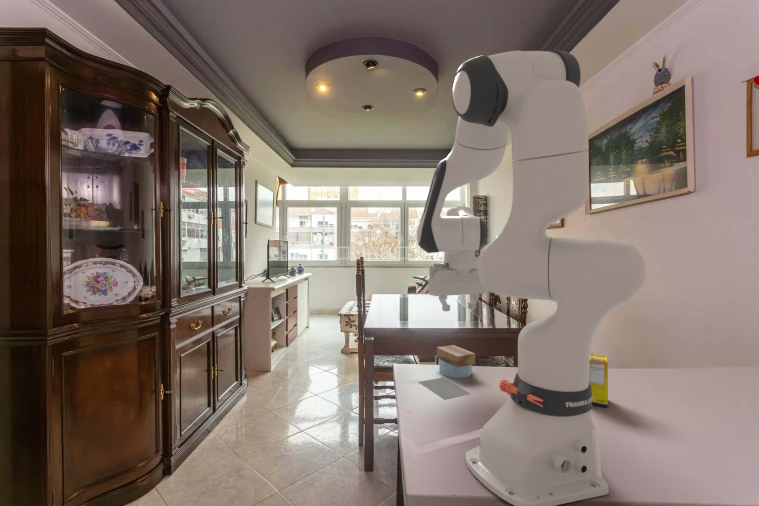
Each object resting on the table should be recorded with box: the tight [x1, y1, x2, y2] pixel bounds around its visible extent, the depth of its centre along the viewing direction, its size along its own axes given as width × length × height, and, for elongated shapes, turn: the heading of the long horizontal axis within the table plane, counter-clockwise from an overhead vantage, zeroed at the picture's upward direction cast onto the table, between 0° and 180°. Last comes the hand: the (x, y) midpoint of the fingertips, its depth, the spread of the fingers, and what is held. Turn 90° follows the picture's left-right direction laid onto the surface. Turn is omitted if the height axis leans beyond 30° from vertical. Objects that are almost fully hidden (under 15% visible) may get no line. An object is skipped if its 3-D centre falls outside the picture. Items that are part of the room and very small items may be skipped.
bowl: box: [438, 358, 473, 379], centre depth 100 cm, size 9×9×4 cm
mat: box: [418, 377, 471, 400], centre depth 88 cm, size 8×12×1 cm, turn 25°
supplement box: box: [589, 353, 609, 409], centre depth 83 cm, size 6×6×11 cm
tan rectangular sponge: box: [436, 344, 476, 367], centre depth 100 cm, size 6×10×3 cm, turn 25°
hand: (459, 309), depth 99 cm, fingers open, 8 cm apart
